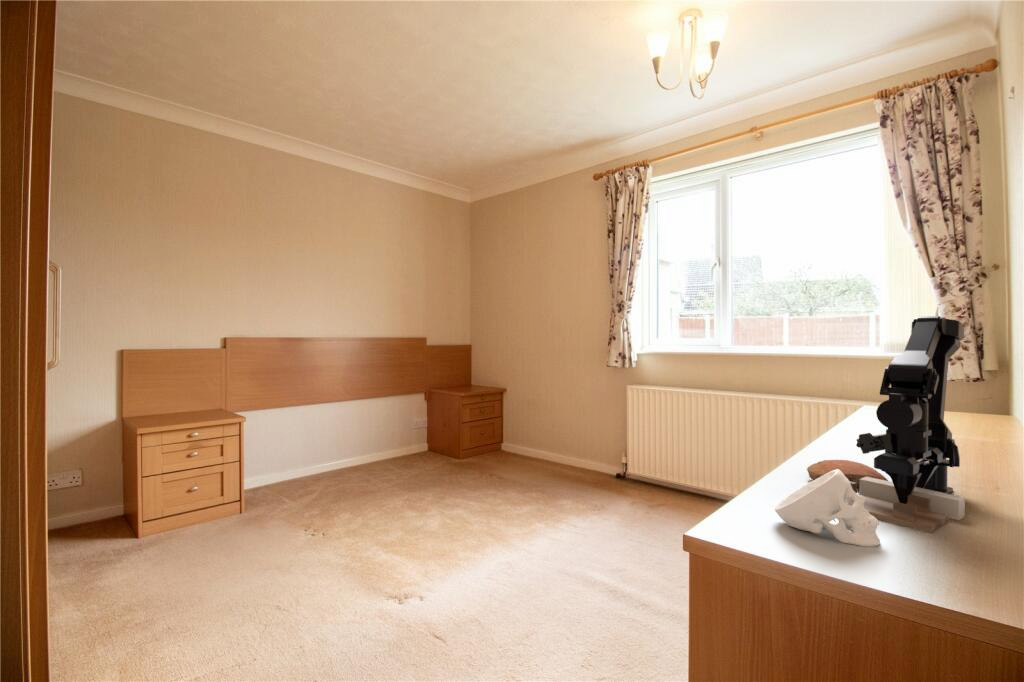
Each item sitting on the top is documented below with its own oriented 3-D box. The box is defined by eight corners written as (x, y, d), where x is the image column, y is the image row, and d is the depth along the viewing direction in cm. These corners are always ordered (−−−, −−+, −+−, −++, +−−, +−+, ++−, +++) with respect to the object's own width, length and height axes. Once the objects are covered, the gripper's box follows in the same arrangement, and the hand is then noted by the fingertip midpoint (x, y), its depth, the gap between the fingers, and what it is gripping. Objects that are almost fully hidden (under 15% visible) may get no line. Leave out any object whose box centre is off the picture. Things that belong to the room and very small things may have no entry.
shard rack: (828, 491, 105) (828, 476, 105) (948, 520, 88) (948, 502, 88) (807, 500, 99) (807, 483, 99) (930, 533, 83) (930, 513, 83)
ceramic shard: (795, 450, 122) (860, 462, 119) (793, 475, 122) (858, 488, 119) (821, 456, 108) (896, 470, 105) (818, 485, 107) (893, 499, 104)
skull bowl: (893, 549, 73) (841, 474, 77) (804, 573, 81) (761, 504, 85) (895, 528, 81) (848, 461, 85) (814, 551, 89) (774, 489, 93)
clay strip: (866, 494, 104) (866, 476, 104) (964, 518, 91) (964, 497, 91) (859, 497, 102) (859, 479, 102) (958, 521, 89) (958, 500, 89)
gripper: (879, 414, 108) (879, 482, 108) (844, 422, 98) (843, 498, 98) (943, 421, 99) (943, 496, 99) (912, 431, 88) (911, 514, 88)
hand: (908, 500), depth 96 cm, fingers open, 6 cm apart
